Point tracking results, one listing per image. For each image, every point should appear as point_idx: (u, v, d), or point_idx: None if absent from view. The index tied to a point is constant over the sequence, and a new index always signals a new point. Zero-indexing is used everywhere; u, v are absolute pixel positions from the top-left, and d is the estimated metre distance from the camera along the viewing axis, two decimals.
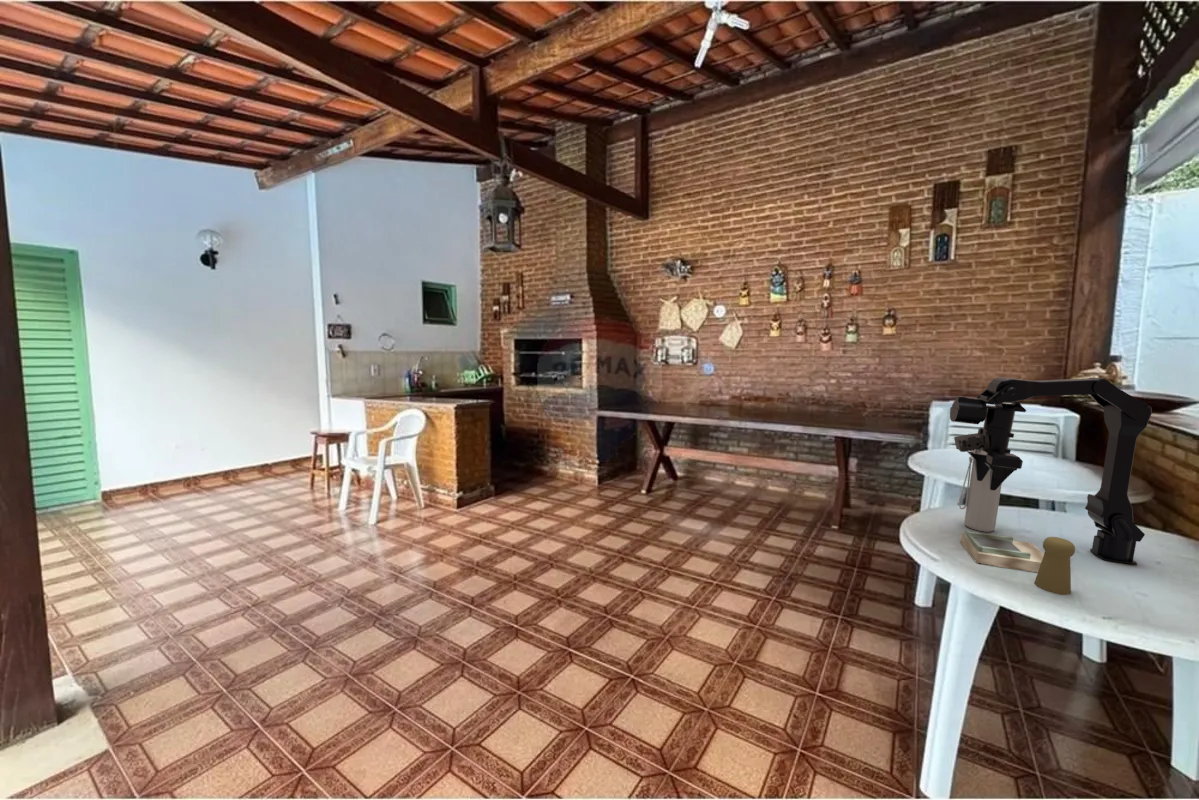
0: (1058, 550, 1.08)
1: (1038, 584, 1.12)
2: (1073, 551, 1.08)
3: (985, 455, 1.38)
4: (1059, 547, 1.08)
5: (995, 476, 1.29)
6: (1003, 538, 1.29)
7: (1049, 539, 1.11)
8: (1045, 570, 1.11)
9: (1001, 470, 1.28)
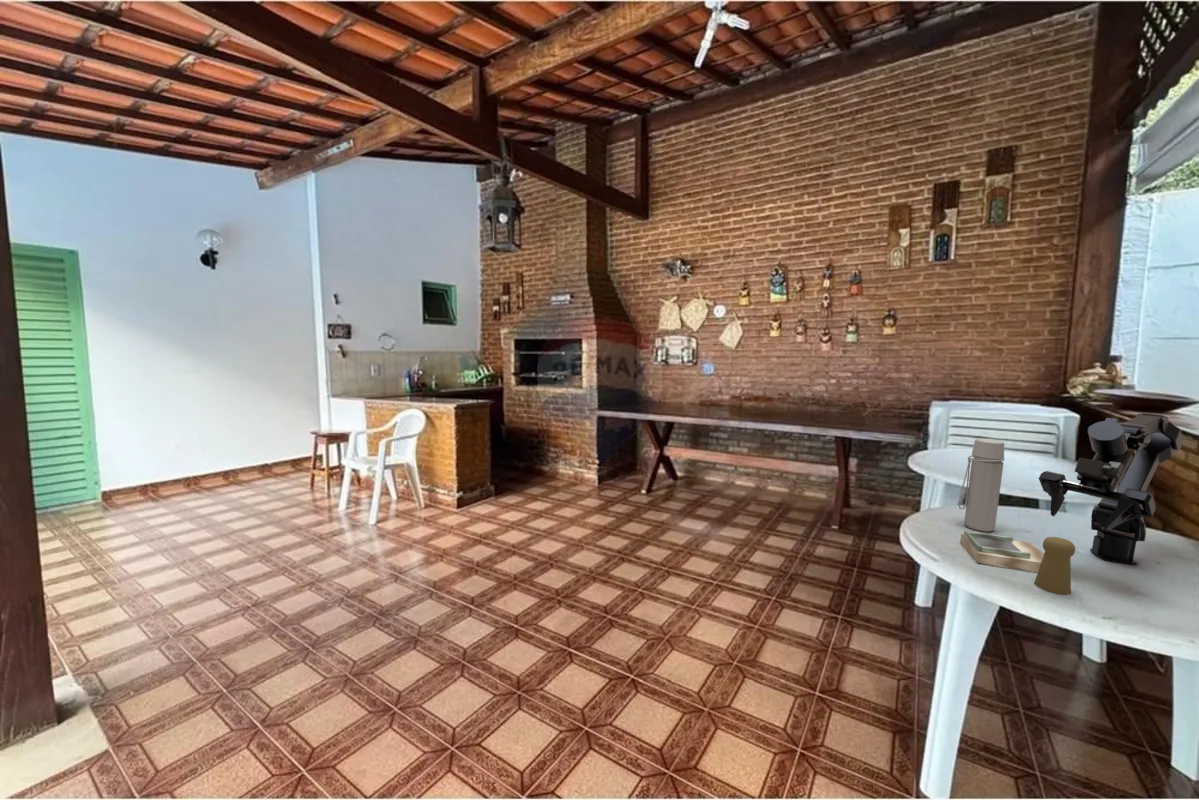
0: (1058, 550, 1.08)
1: (1038, 584, 1.12)
2: (1073, 551, 1.08)
3: (1062, 492, 1.20)
4: (1059, 547, 1.08)
5: (1120, 516, 1.09)
6: (1003, 538, 1.29)
7: (1049, 539, 1.11)
8: (1045, 570, 1.11)
9: (1124, 512, 1.10)
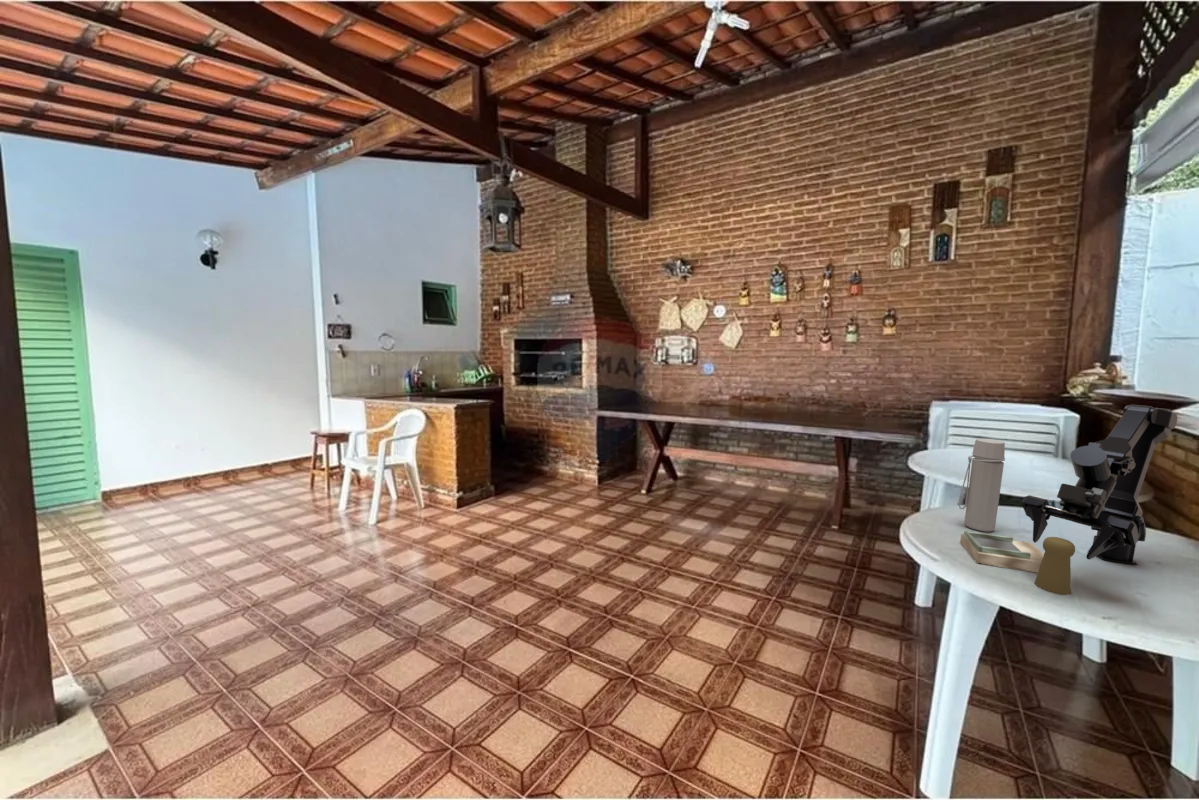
0: (1058, 550, 1.08)
1: (1038, 584, 1.12)
2: (1073, 551, 1.08)
3: (1044, 517, 1.17)
4: (1059, 547, 1.08)
5: (1102, 544, 1.07)
6: (1003, 538, 1.29)
7: (1049, 539, 1.11)
8: (1045, 570, 1.11)
9: (1106, 540, 1.07)
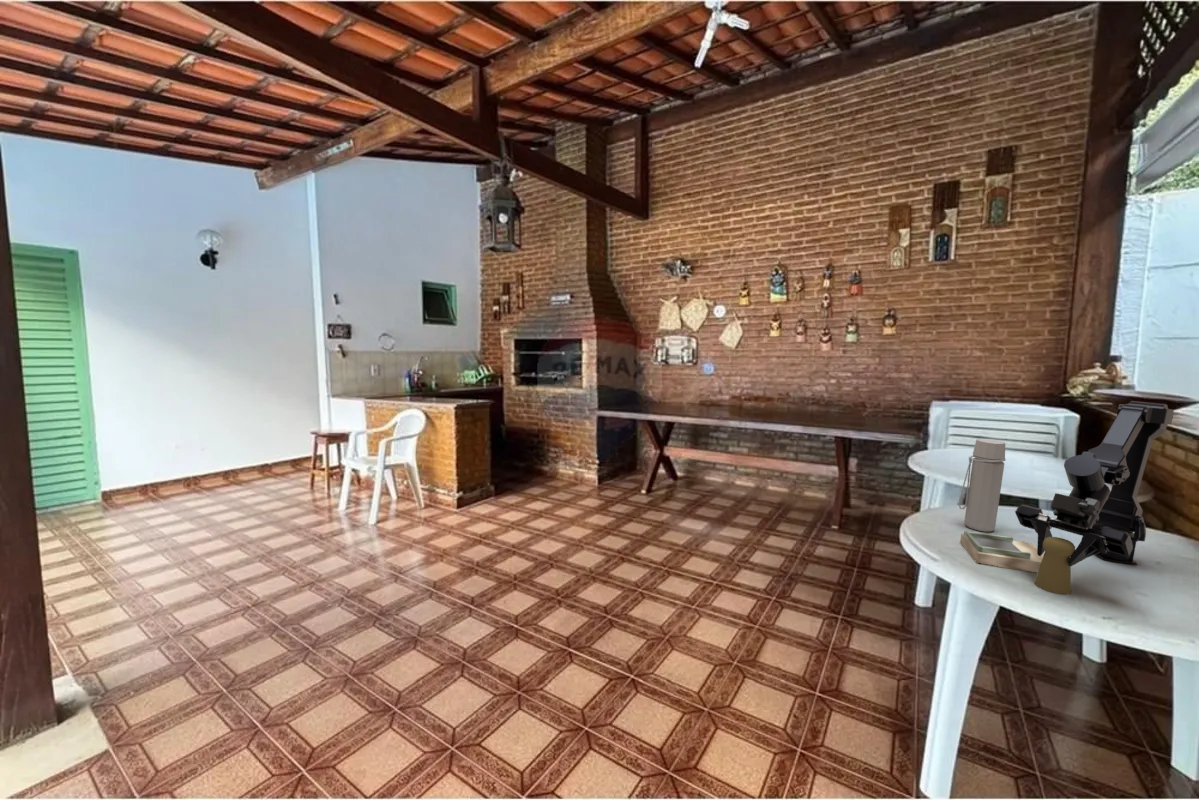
0: (1058, 550, 1.08)
1: (1038, 584, 1.12)
2: (1073, 551, 1.08)
3: None
4: (1059, 547, 1.08)
5: (1084, 551, 1.07)
6: (1003, 538, 1.29)
7: (1049, 539, 1.11)
8: (1045, 570, 1.11)
9: (1088, 547, 1.08)
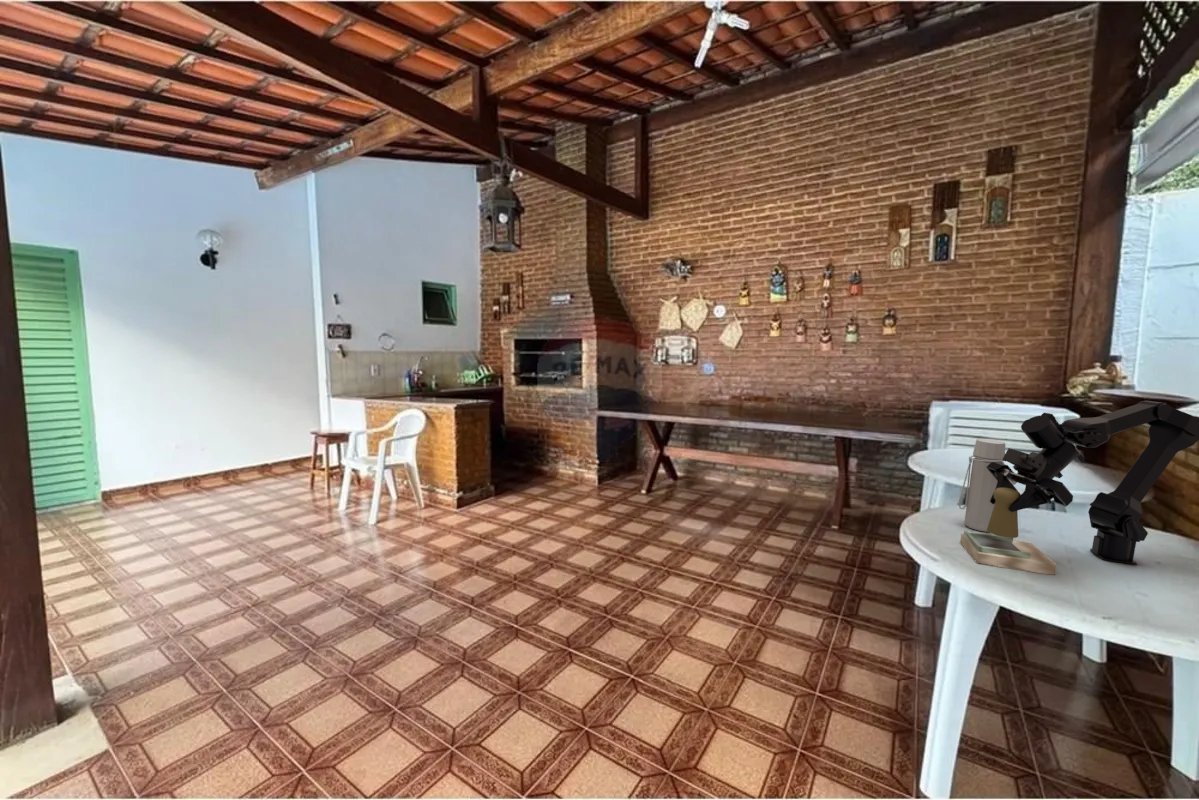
0: (1000, 497, 1.22)
1: (987, 528, 1.26)
2: (1015, 499, 1.21)
3: (1011, 483, 1.27)
4: (1001, 494, 1.22)
5: (1025, 499, 1.19)
6: (1003, 538, 1.29)
7: (998, 488, 1.24)
8: (992, 515, 1.25)
9: (1033, 497, 1.20)
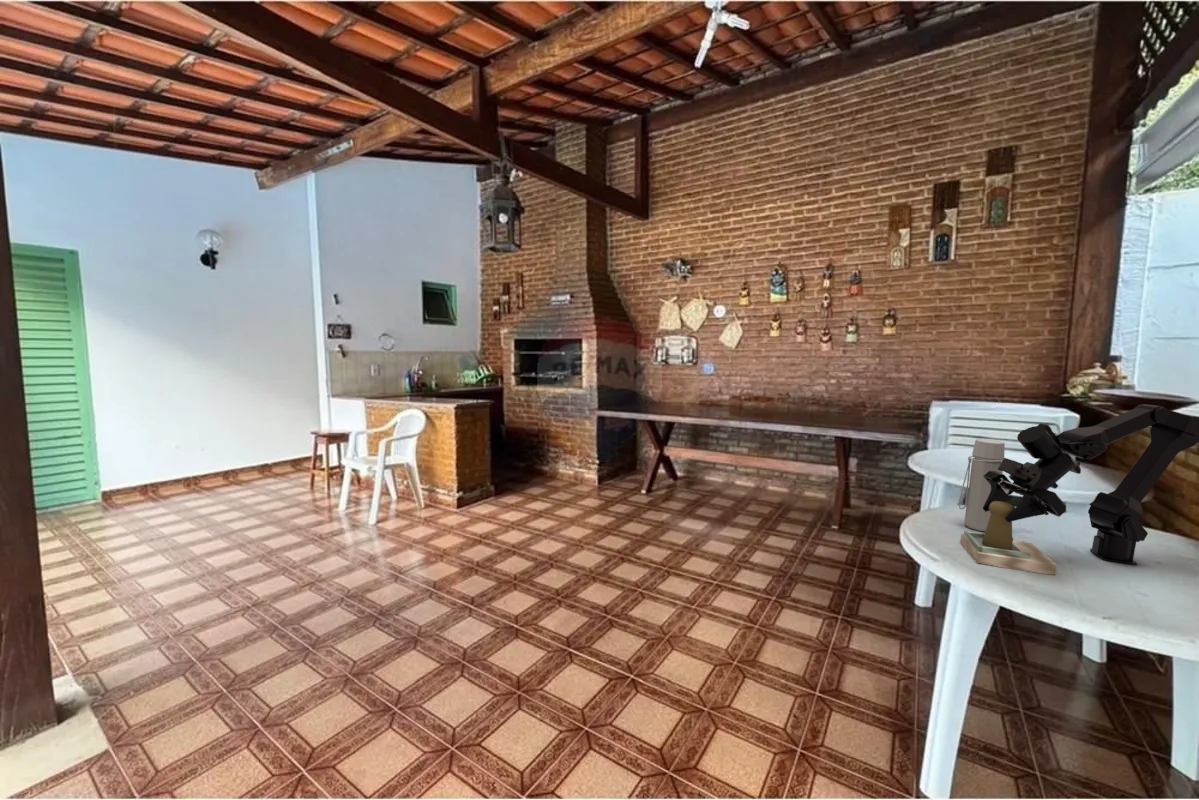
0: (995, 510, 1.24)
1: (982, 541, 1.28)
2: (1009, 512, 1.22)
3: (1004, 492, 1.29)
4: (996, 507, 1.24)
5: (1022, 510, 1.20)
6: None
7: (993, 502, 1.26)
8: (987, 528, 1.26)
9: (1030, 508, 1.20)
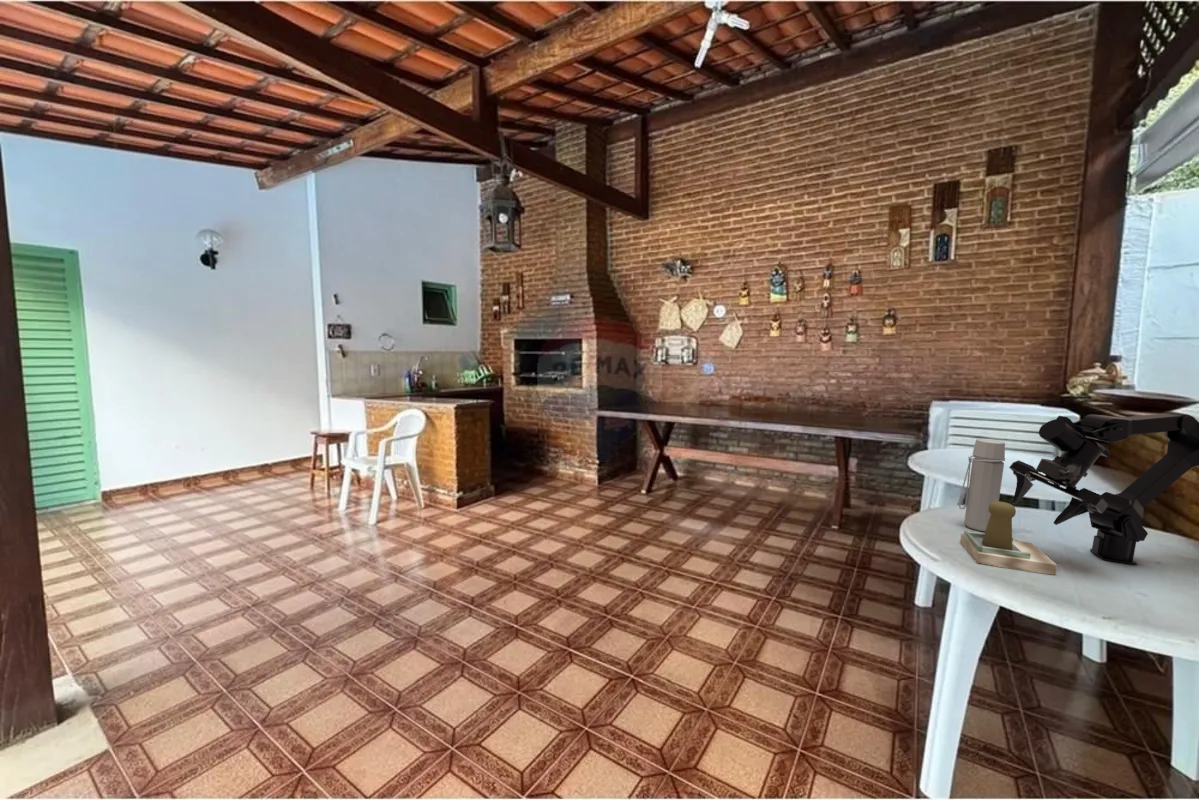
0: (994, 511, 1.24)
1: (982, 541, 1.28)
2: (1009, 513, 1.22)
3: (1029, 480, 1.30)
4: (996, 507, 1.24)
5: (1070, 513, 1.20)
6: None
7: (993, 502, 1.26)
8: (987, 529, 1.26)
9: (1076, 508, 1.20)
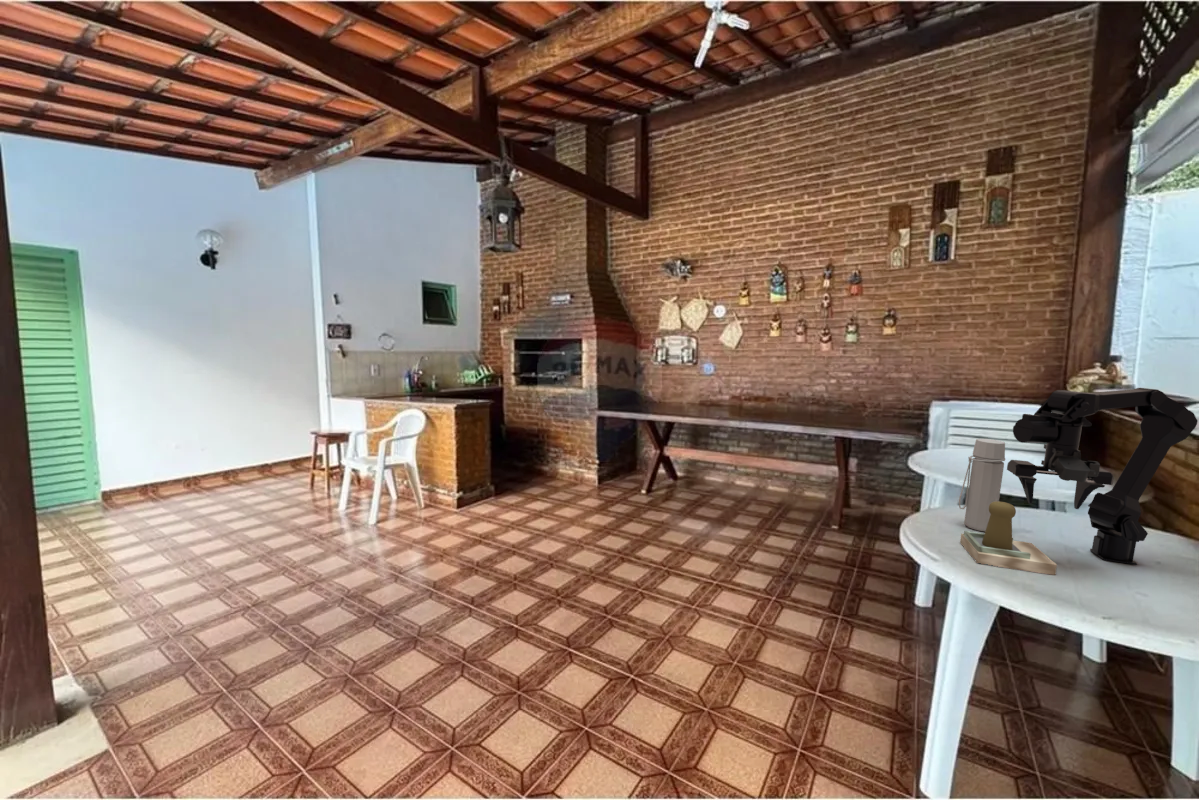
0: (994, 511, 1.24)
1: (982, 541, 1.28)
2: (1009, 513, 1.22)
3: None
4: (996, 508, 1.24)
5: None
6: None
7: (993, 502, 1.26)
8: (987, 529, 1.26)
9: None
